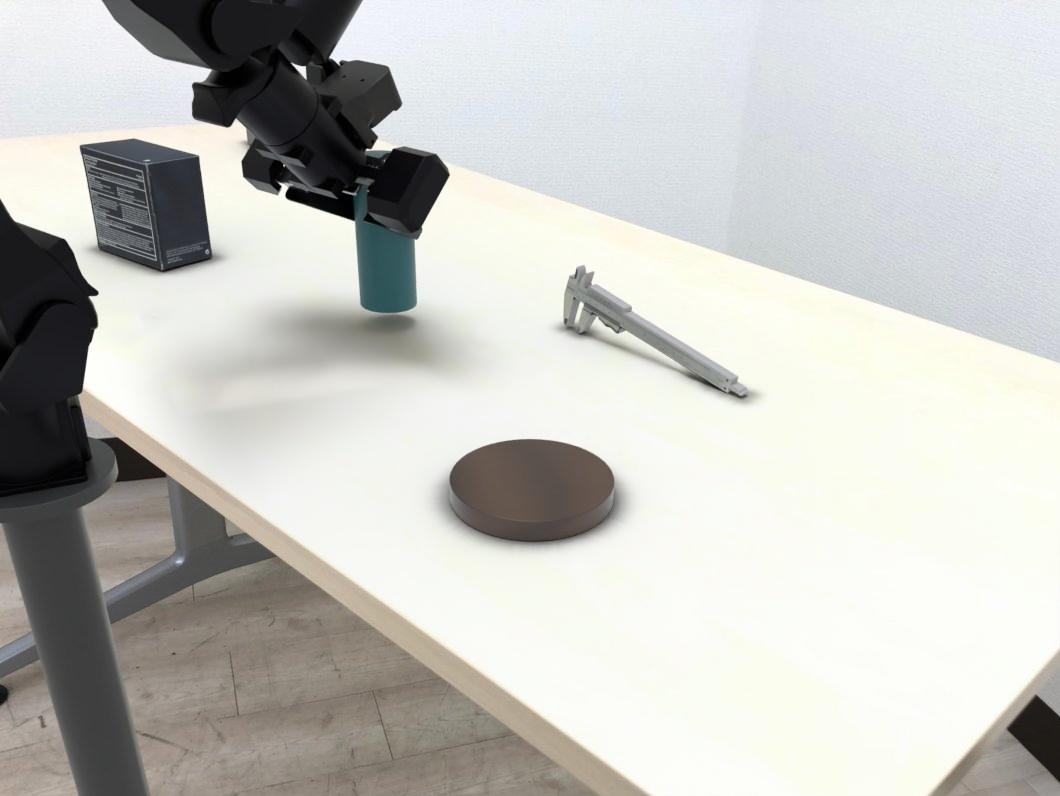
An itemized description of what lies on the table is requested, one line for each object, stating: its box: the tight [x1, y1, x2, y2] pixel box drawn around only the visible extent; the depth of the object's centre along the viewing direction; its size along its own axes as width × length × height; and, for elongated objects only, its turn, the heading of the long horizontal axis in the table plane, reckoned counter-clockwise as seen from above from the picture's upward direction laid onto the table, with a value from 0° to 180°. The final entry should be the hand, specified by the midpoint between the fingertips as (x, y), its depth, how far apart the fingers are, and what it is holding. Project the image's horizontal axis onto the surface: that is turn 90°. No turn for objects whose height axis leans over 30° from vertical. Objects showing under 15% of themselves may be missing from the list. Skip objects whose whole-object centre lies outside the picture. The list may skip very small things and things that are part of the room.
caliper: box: [562, 264, 750, 397], centre depth 90 cm, size 20×1×6 cm, turn 50°
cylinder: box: [353, 149, 418, 314], centre depth 91 cm, size 5×5×13 cm
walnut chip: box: [448, 438, 615, 542], centre depth 70 cm, size 11×11×2 cm
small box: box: [79, 137, 213, 271], centre depth 104 cm, size 11×6×10 cm, turn 58°
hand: (396, 228), depth 92 cm, fingers closed on cylinder, 5 cm apart
